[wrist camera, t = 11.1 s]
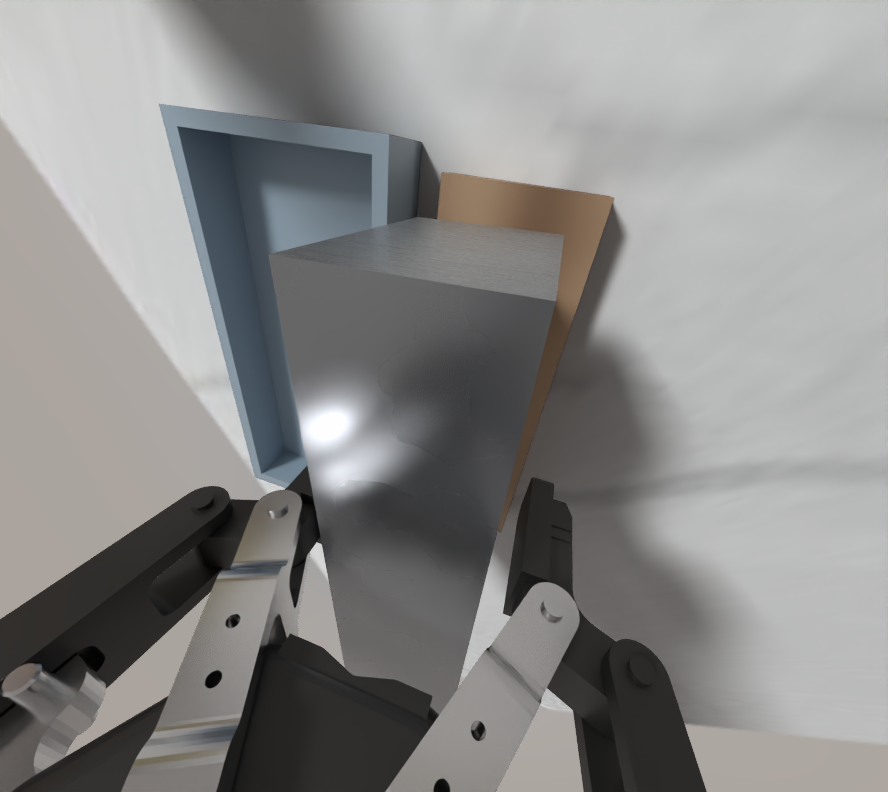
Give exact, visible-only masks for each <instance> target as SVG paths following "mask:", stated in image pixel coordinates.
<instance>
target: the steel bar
mask: <svg viewBox="0 0 888 792" xmlns="http://www.w3.org/2000/svg"><path fill="white" fill-rule="evenodd" d="M563 241H564V235H560V234H552V233H544V232H536V231H528V230H520V229H512V228H504V227H496V226H488V225H480V224H472V223H464V222H456V221H448V220H439V219H431V218H423V217H416V218H412V219H408V220H404V221H400V222H396V223H392V224H388V225H384V226H380V227H376V228H372V229H368V230H364V231H359V232H355V233H351V234H347V235H343V236H339V237H335V238H331V239H327V240H323V241H319V242H315V243H311V244H307V245H303V246H299V247H295V248H291V249H287V250H283V251H279V252H275V253H271V254H268V256H269V261H270V267H271V272H272V278H273V283H274V288H275V294H276V299H277V304H278V310H279V315H280V321H281V326H282V331H283V337H284V342H285V347H286V353H287V358H288V364H289V369H290V374H291V380H292V385H293V391H294V396H295V401H296V407H297V412H298V417H299V423H300V428H301V434H302V439H303V444H304V450H305V455H306V460H307V466H308V471H309V477H310V482H311V487H312V493H313V498H314V504H315V509H316V514H317V520H318V525H319V530H320V536H321V541H322V547H323V552H324V557H325V563H326V568H327V573H328V579H329V584H330V590H331V595H332V600H333V605H334V611H335V617H336V621H337V627H338V633H339V637H340V643H341V649H342V654H343V660H344V665H345V669H346V670H347V671H349V672H350V673H351V674H352V675H355V676H362V677H373V678H384V679H395V680H398V681H400V682H402V683H404V684H407V685H409V686H411V687H414V688H416V689H418V690H420V691H423V692H425V693H427V694H429V695H432V696H433V697H432V701H431V705H430V707H431V708H433V709H434V710H435V711H436V712H437V713H438V714H439V715H440V713H441V712H442V711H443V709H444V708H445V706H446V705H447V703H448V702H449V701H450V699H451V698H452V696H453V695H454V693H455V692H456V691H457V688H458V684H459V681H460V677H461V673H462V669H463V665H464V661H465V657H466V653H467V649H468V645H469V641H470V637H471V633H472V629H473V625H474V622H475V618H476V614H477V610H478V606H479V602H480V598H481V594H482V590H483V586H484V582H485V578H486V574H487V570H488V566H489V563H490V559H491V555H492V551H493V547H494V543H495V539H496V535H497V531H498V527H499V523H500V519H501V515H502V511H503V508H504V504H505V500H506V496H507V492H508V488H509V484H510V480H511V476H512V472H513V468H514V464H515V460H516V456H517V452H518V449H519V445H520V441H521V437H522V433H523V429H524V425H525V421H526V417H527V413H528V409H529V405H530V401H531V397H532V393H533V390H534V386H535V382H536V378H537V374H538V370H539V366H540V362H541V358H542V354H543V350H544V346H545V342H546V338H547V334H548V331H549V327H550V323H551V319H552V315H553V311H554V307H555V303H556V297H557V289H558V281H559V273H560V265H561V257H562V249H563Z"/></svg>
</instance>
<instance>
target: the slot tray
mask: <svg viewBox="0 0 888 792" xmlns="http://www.w3.org/2000/svg"><path fill="white" fill-rule="evenodd" d="M159 106H160V110H161V114H162V118H163V122H164V125H165V129H166V133H167V137H168V141H169V145H170V149H171V153H172V156H173V160H174V164H175V168H176V172H177V176H178V180H179V184H180V188H181V191H182V195H183V199H184V203H185V207H186V211H187V215H188V219H189V222H190V226H191V230H192V234H193V238H194V242H195V246H196V250H197V254H198V257H199V261H200V265H201V269H202V273H203V277H204V281H205V285H206V288H207V292H208V296H209V300H210V304H211V308H212V312H213V316H214V320H215V323H216V327H217V331H218V335H219V339H220V343H221V347H222V351H223V354H224V358H225V362H226V366H227V370H228V374H229V378H230V382H231V386H232V389H233V393H234V397H235V401H236V405H237V409H238V413H239V417H240V420H241V424H242V428H243V432H244V436H245V440H246V444H247V448H248V451H249V455H250V459H251V463H252V467H253V471H254V475H255V477H256V478H259V479H261V480H264V481H267V482H270V483H273V484H276V485H278V486H281V487H284V488H287V487H288V486H289V485H290V484H291V482H292V481H293V480H294V479H295V478H296V477H297V476H298V475H299V474H300V473H301V472H302V470H303V469H304V468H305V467H306V466H307V460H306V455H305V450H304V444H303V439H302V434H301V428H300V423H299V417H298V412H297V407H296V401H295V396H294V391H293V385H292V380H291V374H290V369H289V364H288V358H287V353H286V347H285V342H284V337H283V331H282V326H281V321H280V315H279V310H278V304H277V299H276V294H275V288H274V283H273V278H272V272H271V267H270V261H269V256H268V254H271V253H275V252H279V251H283V250H287V249H291V248H295V247H299V246H303V245H307V244H311V243H315V242H319V241H323V240H327V239H331V238H335V237H339V236H343V235H347V234H351V233H355V232H359V231H364V230H368V229H372V228H376V227H380V226H384V225H388V224H392V223H396V222H400V221H404V220H408V219H412V218H416V217H417V202H418V187H419V172H420V157H421V143H422V142H419V141H415V140H411V139H407V138H402V137H398V136H394V135H390V134H384V133H376V132H368V131H361V130H353V129H346V128H338V127H331V126H323V125H315V124H308V123H300V122H293V121H285V120H277V119H270V118H262V117H255V116H247V115H240V114H232V113H224V112H217V111H209V110H202V109H194V108H187V107H179V106H171V105H164V104H159Z"/></svg>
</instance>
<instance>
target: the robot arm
mask: <svg viewBox="0 0 888 792" xmlns="http://www.w3.org/2000/svg"><path fill="white" fill-rule="evenodd" d="M553 495H554V484H553V483H550V482H547V481H544V480H540V479H537V478H534V477H532V479H531V481H530V484H529V486H528V489H527V492H526V494H525V497H524V500H523V503H522V505H521V509H520V512H519V516H518V521H517V527H516V533H515V540H514V546H513V553H512V559H511V566H510V572H509V578H508V585H507V591H506V598H505V604H504V610H503V614H506V615H508V616H511V618H510V619H509V621H508V622H507V623H506V625H505V626H504V628H503V629H502V631H501V632H500V633H499V635H498V636H497V638H496V639H495V641H494V642H493V643H492V645H491V646H490V647H489V648H487V649H486V650H485V651H484V653H483V654H482V655H481V657H480V658H479V659H478V661H477V662H476V664H475V665H474V666H473V668H472V669H471V671H470V672H469V674H468V675H467V676H466V678H465V679H464V681H463V682H462V684H461V685H460V686H459V688H458V689H457V691H456V692H455V693H454V695H453V696H452V698H451V699H450V701H449V702H448V703H447V705H446V706H445V708H444V709H443V711H442V712H441V713H440V715H439V714H438V713H437V712H436V711H435V710H434V709H433V708H431V707H430V705H431V701H432V697H433V696H432V695H429V694H427V693H425V692H423V691H420V690H418V689H416V688H414V687H411V686H409V685H407V684H404V683H402V682H400V681H398V680H395V679H384V678H373V677H362V676H355V675H352V674H351V673H350V672H349V671H347V670H346V669H345V668H344V667H343V666H342V665H341V664H340V663H339V662H338V661H337V660H336V659H335V658H333V657H332V656H331V655H330V654H329V653H328V652H327V651H326V650H325V649H324V648H322V647H320V646H318V645H316V644H313V643H311V642H309V641H306V640H304V639H302V638H299V637H298V619H299V610H300V605H301V600H302V595H303V590H304V584H305V580H306V575H307V569H308V564H309V559H310V551H311V549H312V548H313V546H314V545H315V544H316V542H318V543H321V544H322V541H321V536H320V530H319V525H318V520H317V514H316V509H315V504H314V498H313V493H312V487H311V482H310V477H309V471H308V466H306V467H305V468H304V469H303V470H302V472H301V473H300V474H299V475H298V476H297V477H296V478H295V479H294V480H293V481H292V482H291V484H290V485H289V486H288V487H287V488H286V489H285V490H278V491H274V492H271V493H269V494H267V495H265V496H263V497H262V498H261V499H260V500H234V499H230V497H229V494H228V492H227V491H226V490H225V489H223V488H221V487H216V486H209V487H203V488H200V489H197V490H194V491H192V492H191V493H189V494H187V495H186V496H184V497H183V498H181V499H180V500H178V501H177V502H175V503H174V504H172V505H171V506H169V507H168V508H166V509H165V510H163V511H162V512H160V513H159V514H157V515H156V516H154V517H153V518H151V519H150V520H148V521H147V522H145V523H144V524H142V525H141V526H139V527H138V528H136V529H135V530H133V531H132V532H130V533H129V534H127V535H126V536H124V537H123V538H121V539H120V540H119V541H117V542H115V543H114V544H112V545H111V546H109V547H108V548H106V549H105V550H103V551H102V552H100V553H99V554H97V555H96V556H94V557H93V558H91V559H90V560H89V561H87V562H85V563H84V564H82V565H81V566H80V567H78V568H76V569H75V570H74V571H72V572H70V573H69V574H68V575H66V576H65V577H63V578H62V579H60V580H59V581H57V582H56V583H54V584H53V585H51V586H50V587H48V588H47V589H45V590H44V591H42V592H41V593H39V594H38V595H36V596H35V597H33V598H32V599H30V600H29V601H27V602H26V603H24V604H23V605H21V606H20V607H18V608H17V609H15V610H14V611H12V612H11V613H9V614H8V615H6V616H5V617H3V618H2V619H0V792H496V790H497V788H498V786H499V785H500V782H501V781H502V779H503V777H504V775H505V773H506V771H507V769H508V767H509V765H510V763H511V761H512V759H513V757H514V755H515V753H516V751H517V749H518V748H519V746H520V744H521V742H522V740H523V738H524V736H525V734H526V732H527V730H528V728H529V726H530V724H531V722H532V720H533V718H534V716H535V714H536V712H537V710H538V708H539V706H540V703H541V699H542V696H543V694H544V692H545V690H546V688H548V689H549V690H550V691H551V692H552V693H554V694H555V695H556V696H557V697H558V698H559V699H561V700H562V701H563V702H564V703H565V704H567V705H568V706H569V707H570V708H571V709H572V710H573V713H574V720H575V728H576V735H577V743H578V751H579V758H580V766H581V774H582V781H583V789H584V792H706V789H705V786H704V782H703V779H702V776H701V773H700V770H699V767H698V764H697V761H696V758H695V755H694V752H693V749H692V746H691V743H690V740H689V737H688V734H687V731H686V727H685V724H684V721H683V718H682V715H681V712H680V709H679V706H678V703H677V700H676V697H675V694H674V691H673V688H672V685H671V682H670V679H669V676H668V674H667V671H666V670H665V668H664V666H663V664H662V663H661V661H660V660H659V659H658V658H657V656H656V655H655V654H654V653H653V652H652V651H651V650H649V649H648V648H647V647H646V646H644V645H642V644H641V643H639V642H637V641H634V640H630V639H622V640H619V641H617V642H616V641H614V640H613V639H611V638H610V637H609V636H607V635H606V634H605V633H603V632H602V631H600V630H599V629H598V628H596V627H595V626H594V625H592V624H591V623H590V622H589V621H588V620H587V619H586V618H585V617H584V616H583V614H582V613H581V612H580V610H579V608H578V607H577V605H576V602H575V600H574V596H573V590H572V516H571V514H570V512H569V509H568V507H567V505H566V503H563V502H560V501H557V500H553ZM189 551H190V552H189ZM184 555H185V556H184ZM179 559H180V560H179ZM174 563H175V564H174ZM169 567H170V568H169ZM164 571H165V572H164ZM159 575H160V576H159ZM209 592H211V593H210V595H209V598H208V600H207V603H206V605H205V607H204V610H203V613H202V615H201V617H200V620H199V622H198V625H197V627H196V630H195V632H194V635H193V637H192V640H191V642H190V644H189V647H188V649H187V652H186V654H185V657H184V660H183V662H182V664H181V667H180V669H179V672H178V674H177V677H176V679H175V681H174V684H173V686H172V689H171V691H170V694H169V696H168V697H166V698H164V699H162V700H161V701H160V702H158V703H156V704H154V705H152V706H151V707H149V708H147V709H146V710H144V711H142V712H141V713H139V714H137V715H135V716H134V717H132V718H131V719H129V720H127V721H126V722H124V723H122V724H120V725H119V726H117V727H115V728H114V729H112V730H110V731H108V732H107V733H105V734H104V735H102V736H100V737H98V738H97V739H95V740H93V741H92V742H90V743H88V744H87V745H85V746H83V747H81V748H80V749H78V750H77V751H75V752H73V753H71V754H70V755H68V756H66V757H65V755H66V753H67V751H68V749H69V747H70V745H71V744H72V742H73V740H74V739H75V738H76V737H77V735H79V734H81V733H83V732H84V731H86V730H87V729H88V728H89V727H90V726H91V725H92V724H93V722H94V721H95V719H96V717H97V713H98V709H99V707H100V706H101V704H102V701H103V699H104V696H105V691H106V688H107V687H108V686H109V685H111V684H112V683H113V682H114V681H115V680H116V679H117V678H118V677H119V676H120V675H121V674H122V673H123V672H124V671H126V670H127V669H128V668H129V667H130V666H131V665H132V664H133V663H134V662H135V661H136V660H137V659H139V658H140V657H141V656H142V655H143V654H144V653H145V652H146V651H147V650H148V649H149V648H150V647H151V646H152V645H153V644H155V643H156V642H157V641H158V640H159V639H160V638H161V637H162V636H163V635H164V634H165V633H167V632H168V631H169V630H170V629H171V628H172V627H173V626H174V625H175V624H176V623H177V622H178V621H179V620H181V619H182V618H183V617H184V616H185V615H186V614H187V613H188V612H189V611H190V610H191V609H192V608H194V606H196V605H197V604H198V603H199V602H200V601H201V600H202V599H203V598H204V597H205V596H206V595H208V594H209ZM64 757H65V758H64Z"/></svg>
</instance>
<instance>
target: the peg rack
mask: <svg viewBox="0 0 888 792" xmlns="http://www.w3.org/2000/svg"><path fill="white" fill-rule="evenodd" d="M613 200H614V198H613V197H611V196H605V195H598V194H591V193H585V192H578V191H571V190H564V189H558V188H551V187H544V186H537V185H531V184H524V183H517V182H511V181H504V180H497V179H490V178H484V177H477V176H470V175H463V174H457V173H444V172H442V173H441V183H440V194H439V204H438V214H437V219H439V220H448V221H456V222H464V223H472V224H480V225H488V226H496V227H504V228H512V229H520V230H528V231H536V232H544V233H552V234H560V235H564V241H563V249H562V257H561V265H560V273H559V281H558V289H557V297H556V303H555V307H554V311H553V315H552V319H551V323H550V327H549V331H548V334H547V338H546V342H545V346H544V350H543V354H542V358H541V362H540V366H539V370H538V374H537V378H536V382H535V386H534V390H533V393H532V397H531V401H530V405H529V409H528V413H527V417H526V421H525V425H524V429H523V433H522V437H521V441H520V445H519V449H518V452H517V456H516V460H515V464H514V468H513V472H512V476H511V480H510V484H509V488H508V492H507V496H506V500H505V504H504V508H503V511H502V515H501V519H500V523H499V527H498V531H499V532H501V531H502V528H503V525H504V522H505V519H506V516H507V513H508V510H509V507H510V504H511V501H512V498H513V495H514V492H515V489H516V486H517V483H518V480H519V478H520V475H521V472H522V469H523V466H524V463H525V460H526V457H527V454H528V451H529V448H530V445H531V442H532V439H533V436H534V433H535V430H536V427H537V424H538V422H539V419H540V416H541V413H542V410H543V407H544V404H545V401H546V398H547V395H548V392H549V389H550V386H551V383H552V380H553V377H554V374H555V371H556V368H557V366H558V363H559V360H560V357H561V354H562V351H563V348H564V345H565V342H566V339H567V336H568V333H569V330H570V327H571V324H572V321H573V318H574V315H575V312H576V310H577V307H578V304H579V301H580V298H581V295H582V292H583V289H584V286H585V283H586V280H587V277H588V274H589V271H590V268H591V265H592V262H593V259H594V256H595V254H596V251H597V248H598V245H599V242H600V239H601V236H602V233H603V230H604V227H605V224H606V221H607V218H608V215H609V212H610V209H611V206H612V203H613Z"/></svg>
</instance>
